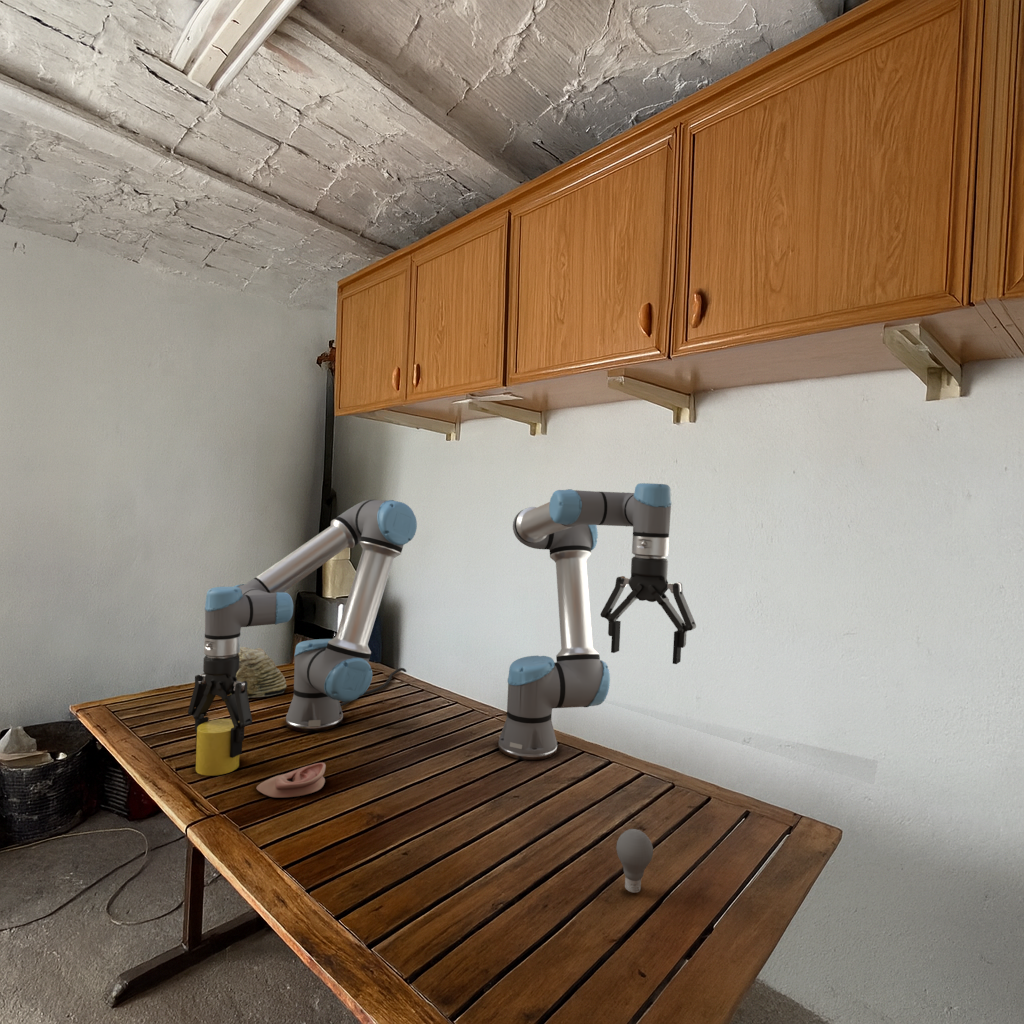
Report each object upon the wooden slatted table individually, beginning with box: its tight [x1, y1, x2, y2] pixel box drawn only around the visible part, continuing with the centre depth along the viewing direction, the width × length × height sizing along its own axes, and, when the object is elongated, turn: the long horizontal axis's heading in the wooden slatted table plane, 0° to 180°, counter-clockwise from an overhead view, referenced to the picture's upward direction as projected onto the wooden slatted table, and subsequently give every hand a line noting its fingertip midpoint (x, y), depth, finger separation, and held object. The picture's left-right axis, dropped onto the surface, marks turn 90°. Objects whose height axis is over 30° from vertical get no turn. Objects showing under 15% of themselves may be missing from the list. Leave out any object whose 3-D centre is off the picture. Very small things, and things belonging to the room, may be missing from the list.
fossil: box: [229, 646, 288, 699], centre depth 198 cm, size 9×18×15 cm, turn 132°
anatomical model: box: [256, 762, 327, 799], centre depth 137 cm, size 13×4×12 cm
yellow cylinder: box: [195, 718, 241, 777], centre depth 146 cm, size 9×9×10 cm
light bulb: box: [615, 828, 654, 894], centre depth 106 cm, size 6×6×10 cm
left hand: (218, 750), depth 146 cm, fingers open, 10 cm apart
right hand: (644, 657), depth 134 cm, fingers open, 13 cm apart
